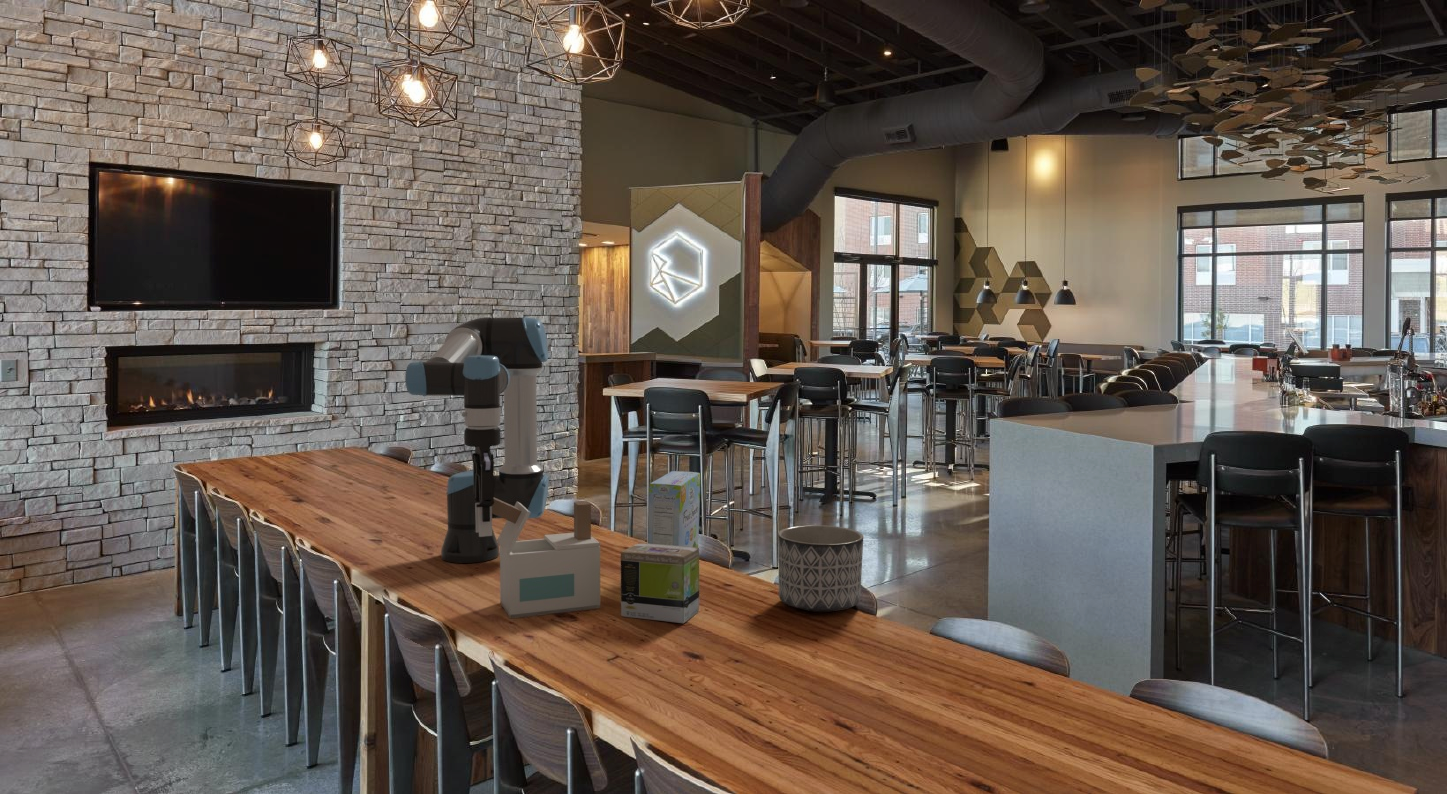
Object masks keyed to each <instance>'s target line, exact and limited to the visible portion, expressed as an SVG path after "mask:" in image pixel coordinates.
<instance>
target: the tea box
mask: <svg viewBox="0 0 1447 794" xmlns="http://www.w3.org/2000/svg"><path fill="white" fill-rule="evenodd" d="M699 612H700V547H699V546H698V547H686V546H673V545H661V544H648V542H647V543H646V542H645V543H644V542H638V543H636V544H634V545H632V546H630V547H627V548H626V549H623V550H622V551H621V552H620V613H621V615H620V616H621V617H624V618H632V619H634V618H635V619H640V620H641V619H642V620H651V621H659V622H661V621H662V622H668V623H677V624H685V623H686V622H688V621H689V620H690V619H691V618H693V617H694V616H695V615H697V613H699Z"/></svg>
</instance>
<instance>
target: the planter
mask: <svg viewBox="0 0 1447 794" xmlns="http://www.w3.org/2000/svg"><path fill="white" fill-rule="evenodd" d="M777 537H778V538H777V540H778V541H777V543H778V544H777V545H778V546H777V547H778V552H777V553H778V557H777V558H778V560H777V561H778V597H779V600H780V601H781V602H783V603H784V604H786V606H790V607H792V608H795V609H800V610H804V611H807V612H813V613H831V612H832V613H833V612H837V611H842V610H847V609H851V608H852V607H855V606H857V605H858V604H859V602H860V601H861V593H862V591H861V590H862V571H863V569H862V568H863V552H864V551H863V549H864V535H863V533H861V532H859V531H857V530H855V529H852V528H846V527H843V526H834V525H824V524H823V525H820V524H814V525H813V524H812V525H808V524H807V525H796V526H795V525H794V526H789V527H786V528H783V529H780V530H779V531H778V532H777Z"/></svg>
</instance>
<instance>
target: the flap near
mask: <svg viewBox="0 0 1447 794" xmlns="http://www.w3.org/2000/svg"><path fill="white" fill-rule="evenodd" d="M530 513H531V512H530V511H528V510H527V509H526V508H525V507H524V506H523V505H522V504H521V503H519V502H516V504H515V506H512V505H510V504H508V503H506V502H503V501H501V500H499V499H497V498H494V504H493V505H492V514H494V515H497V516H499V517H501V518H500V519H503V520H506V522H505V523H504V525H503V527H502V528H501V529H502V530H501V532H500V533H499V536H498V537H497V538H496V540H497V543H498V545H499V546H500V545H501V547H502V548H503V549H504V550H505V552H506V553H509V554H510V552H511V550H512V548H513V546H514V544H515V542H516V541H518V538H519V537H520V535H521V532H522V531H523V529H524V526H525V524H526V523H527V521H528V519H529V518H528V517H529V515H530Z"/></svg>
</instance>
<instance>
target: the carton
mask: <svg viewBox="0 0 1447 794" xmlns="http://www.w3.org/2000/svg"><path fill="white" fill-rule="evenodd" d="M591 523H592V504H591V503H590V502H589V501H586V500H585V501H573V532H567V533H555V534H544V538H537V539H525V540H516V542H515V544H514V546H513V548H512V550H511V552H510V554H509V553H506V552H505V550H504V549H503V548H502V547H501V545H500V544H499V573H500V574H499V583H500V584H499V589H500V593H499V594H500V595H499V596H500V597H499V598H500V599H499V601H500V605H501V607H502V608H503V609H504V611H505V612H506V614H507V615H508V617H509V619H511V620H512V619H518V618H528V617H535V616H543V615H544V616H545V615H552V614H561V613H570V612H579V611H589V610H598V609H601V543H600V542H599V541H598V540H597V539H596V538H595V537H593V536H592V524H591Z"/></svg>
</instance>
